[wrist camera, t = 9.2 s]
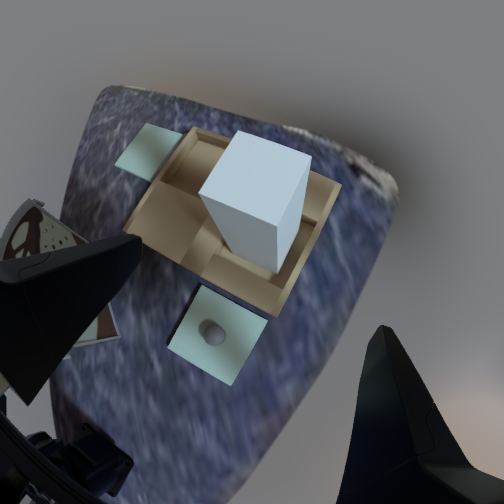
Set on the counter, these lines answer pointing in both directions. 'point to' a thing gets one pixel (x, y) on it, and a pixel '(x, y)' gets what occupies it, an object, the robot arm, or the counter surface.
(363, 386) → the robot arm
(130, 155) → the puzzle board
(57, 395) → the counter surface
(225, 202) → the tall white block
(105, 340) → the food container
